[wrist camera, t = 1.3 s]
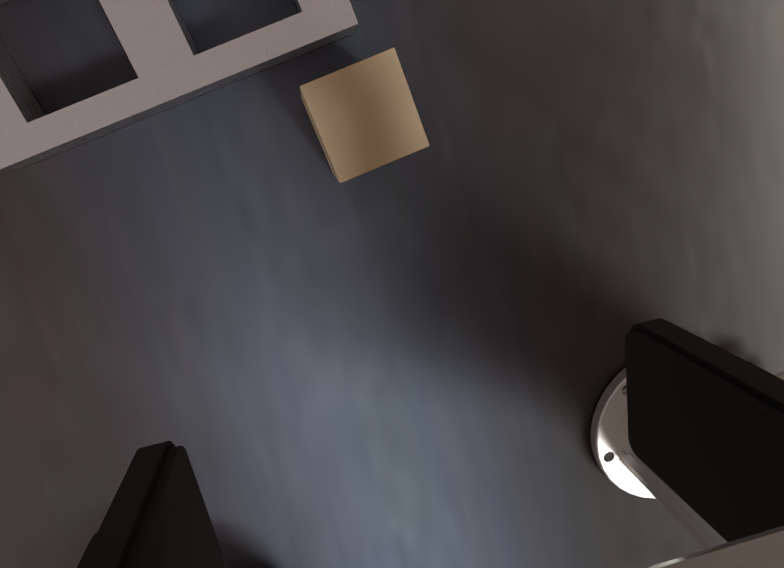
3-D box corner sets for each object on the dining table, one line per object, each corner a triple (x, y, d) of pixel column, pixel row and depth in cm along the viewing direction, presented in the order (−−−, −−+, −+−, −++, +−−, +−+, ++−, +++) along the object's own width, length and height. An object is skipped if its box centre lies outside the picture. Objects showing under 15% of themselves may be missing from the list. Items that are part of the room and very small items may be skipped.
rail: (287, -145, 27) (285, -173, 25) (354, 33, 30) (358, 23, 27) (-80, -2, 26) (-119, -16, 24) (23, 167, 29) (-3, 170, 27)
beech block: (373, 71, 30) (394, 47, 23) (400, 144, 32) (429, 145, 24) (302, 100, 30) (299, 86, 23) (332, 173, 32) (340, 183, 24)
